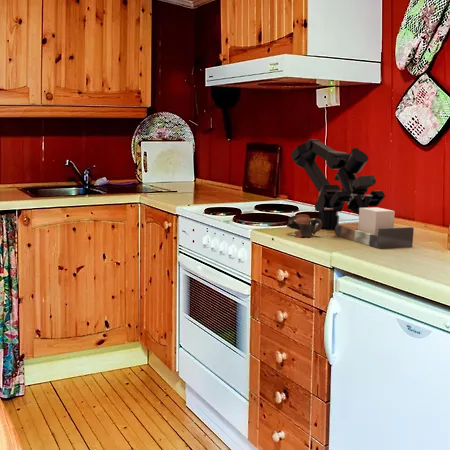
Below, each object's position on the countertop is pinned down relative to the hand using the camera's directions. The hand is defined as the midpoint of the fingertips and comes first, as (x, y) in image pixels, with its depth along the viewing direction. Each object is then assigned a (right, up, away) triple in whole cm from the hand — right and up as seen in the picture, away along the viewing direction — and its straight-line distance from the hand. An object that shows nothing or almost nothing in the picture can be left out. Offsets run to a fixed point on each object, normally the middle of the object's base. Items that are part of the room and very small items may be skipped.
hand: (367, 219), depth 205 cm
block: (+2, -5, -4) cm, 6 cm away
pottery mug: (-20, -6, +4) cm, 21 cm away
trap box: (+1, -7, -2) cm, 7 cm away
